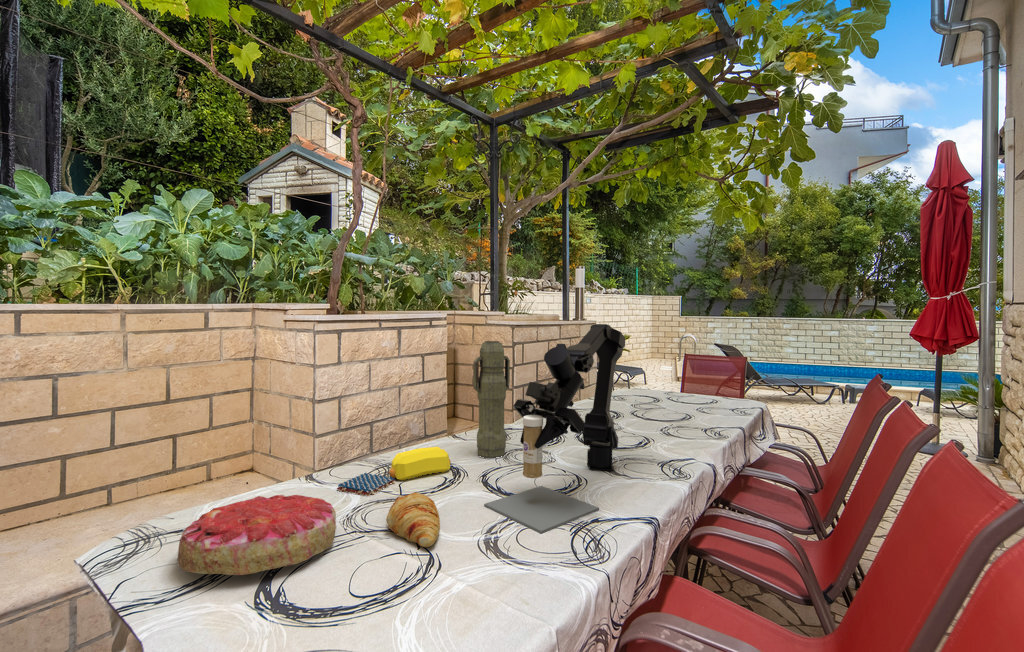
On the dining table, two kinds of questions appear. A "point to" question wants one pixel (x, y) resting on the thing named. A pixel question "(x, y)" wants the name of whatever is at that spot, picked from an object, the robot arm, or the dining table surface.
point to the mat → (541, 508)
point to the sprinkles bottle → (532, 446)
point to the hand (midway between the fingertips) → (528, 445)
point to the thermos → (491, 398)
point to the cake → (257, 535)
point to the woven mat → (365, 484)
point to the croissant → (415, 519)
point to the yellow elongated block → (419, 463)
